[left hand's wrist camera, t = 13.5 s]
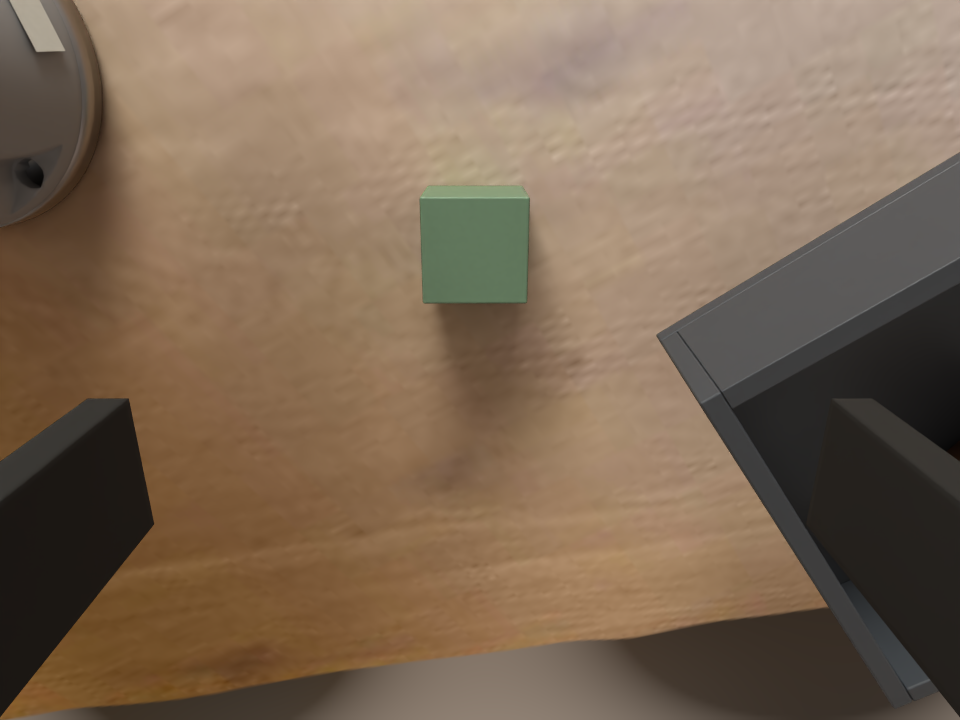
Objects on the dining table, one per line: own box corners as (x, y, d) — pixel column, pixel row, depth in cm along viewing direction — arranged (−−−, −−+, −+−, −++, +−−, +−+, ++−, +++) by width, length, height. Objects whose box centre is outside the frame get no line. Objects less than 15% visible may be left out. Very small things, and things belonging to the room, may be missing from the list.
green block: (429, 279, 36) (422, 304, 31) (427, 185, 34) (419, 197, 30) (520, 279, 36) (527, 303, 32) (522, 185, 34) (529, 197, 30)
